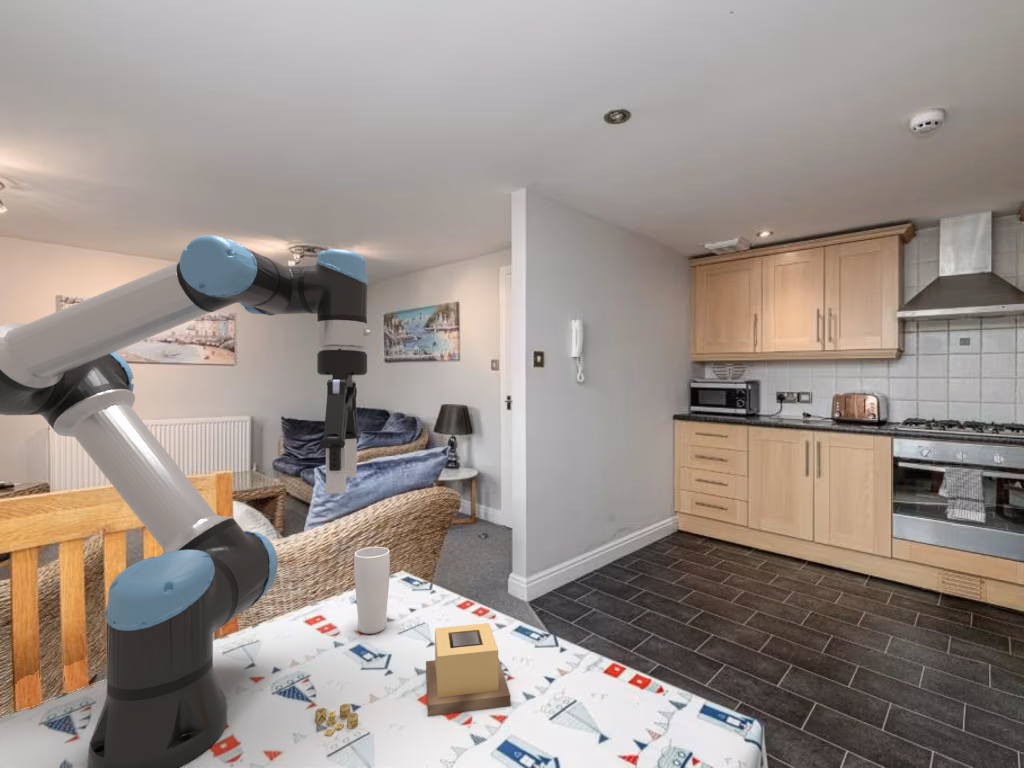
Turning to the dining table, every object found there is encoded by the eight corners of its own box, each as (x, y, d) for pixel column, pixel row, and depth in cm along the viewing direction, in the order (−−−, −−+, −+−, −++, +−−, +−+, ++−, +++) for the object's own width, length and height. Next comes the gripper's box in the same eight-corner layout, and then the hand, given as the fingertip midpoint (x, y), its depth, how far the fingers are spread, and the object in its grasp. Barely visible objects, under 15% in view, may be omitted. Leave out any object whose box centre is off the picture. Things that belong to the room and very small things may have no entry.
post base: (427, 715, 72) (427, 663, 72) (426, 670, 84) (425, 624, 84) (510, 705, 74) (510, 654, 74) (497, 662, 86) (497, 618, 86)
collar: (437, 697, 74) (437, 656, 74) (435, 664, 83) (435, 628, 83) (498, 690, 76) (498, 650, 76) (489, 659, 84) (489, 622, 84)
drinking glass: (351, 625, 100) (351, 549, 100) (385, 618, 103) (385, 544, 103) (357, 640, 94) (357, 559, 94) (393, 632, 97) (393, 554, 97)
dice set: (314, 723, 72) (314, 709, 72) (351, 711, 74) (351, 698, 74) (320, 744, 67) (320, 730, 67) (359, 731, 70) (359, 717, 70)
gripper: (358, 343, 69) (358, 499, 68) (373, 355, 93) (373, 471, 93) (300, 342, 67) (299, 502, 67) (330, 355, 92) (330, 472, 91)
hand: (342, 484), depth 80 cm, fingers open, 13 cm apart
